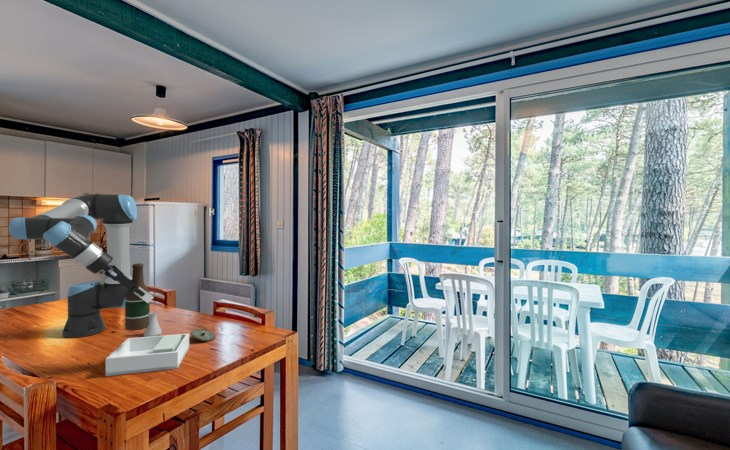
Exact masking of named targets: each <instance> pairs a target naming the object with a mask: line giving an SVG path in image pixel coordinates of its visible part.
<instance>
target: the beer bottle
mask: <svg viewBox="0 0 730 450" xmlns="http://www.w3.org/2000/svg"><path fill="white" fill-rule="evenodd" d="M144 267H145V265H144V263H139V262H138V263H133V264H132V266H131V268H132V275H131V276H132V282H133V283H134V284H136V285H138V286H139V287H141V288H142V289H143V290H145V291H146V292H147V293H150V291H149V288H148V287H147V285H146V284H145V281H144V279H145V278H144ZM133 287H134V286H133ZM133 287H132V288H133ZM132 288H131V289H132ZM150 302H151V301H150ZM150 302H149V303H147V302H145V301H144V300H143V299H141V298H140V297H138V296H137V295H136V294H134V293H132V294H131V291H130V290H128V291H127V294H126V299H125V307H124V309H125V310H124V321H125V322H124V324H125V327H124V328H125V330H126V331H131V332H133V331H134V332H135V331H141V330H144V329H146V328H147V327H148V326H149V317H150V316H149V313H150V305H151V304H150Z"/></svg>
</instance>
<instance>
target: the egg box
mask: <svg viewBox="0 0 730 450" xmlns="http://www.w3.org/2000/svg"><path fill="white" fill-rule="evenodd" d="M172 335H173V336H164V335H163V336H164V337H163V338H162V339H161V340H160V342H159V343H158V344H157V345H156V347H155V348H154V349H153V353H163V352H174V351H176V350H177V348H178V346H179V345H180V343H181V337H182V335H176V334H172Z"/></svg>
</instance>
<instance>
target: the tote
mask: <svg viewBox="0 0 730 450" xmlns="http://www.w3.org/2000/svg"><path fill="white" fill-rule="evenodd" d="M173 335H174V334H167V335H157V336H151V337H146V336H140V337H128V338H127V339H125V340H124V341H123V342H122V343H121V344H120V345H118V346H117V348H116V349H115V350H113V351H112V352H111V353H110V354H109V355H108V356H107V357H106V358H105V377H110V376H120V375H121V376H122V375H129V374H139V373H141V374H142V373H149V372H156V371H157V372H158V371H168V370H177V369H178V368H179V367H180V366H181V364H182V362H183V360H184V358H185V356H186V354H187V352H188V351H189V349H190V333H177V334H176V333H175V335H182V337H181V343H180V345H179V346H178V348H177V350H176V351H174V352H163V353H153V349H154V348H155V347H156V345H157V344H158V343H159V342H160V340H161V339H162V338H163V337H164V336H173Z"/></svg>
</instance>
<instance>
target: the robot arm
mask: <svg viewBox="0 0 730 450" xmlns="http://www.w3.org/2000/svg"><path fill="white" fill-rule="evenodd" d="M137 207H138V206H137V204H136V201H135V199H134V198H133V197H132V196H131V195H127V194H113V193H111V194H108V193H107V194H104V193H102V194H101V193H88V194H83V195H79V196H75V197H72V198H69V199H66V200H65V201H64V202H62V204H61V205H59V206H56V207H53V208H52V209H49V210H46V211H44V212H42V213H39V214H37V215H34V216H31V217H26V216H22V217H15V218H13V219H12V220H10V222H9V226H8V230H9V235H10V236H11V237H12V238H13V239H14V240H27V241H28V240H45V241H46V242H48V243H49V244H50V245H51V246H52V247H55V248H56V249H58V250H59V251H61V253H62V252H63V254H65V255H67V256H68V257H70V258H71V259H73V260H74V264H80V265H82V266H83V267H85V269H86V270H88V271H89V272H91V273H92V274H94V275H95V274H98V273H99V272H101V271H103V272H104V273H103V274H104V275H105V276H106V277H107V278H106V279H105V280H103V283H102V282H101V281H100V280H90V281H85V282H80V283H76V284H72V285H70V286H69V287H68V290H67V296H66V297H67V319H66V322H65V323H64V327H63V330H62V337H63V338H70V339H73V338H74V339H75V338H84V337H89V336H94V335H96V334H99V333H102V332H104V331H105V329H106V324H105V321H104V319H103V316H102V314H101V310H106V309H107V310H108V309H118V308H119V309H123V308H125V299H126V294H127V291H128V290H130V291H131V294H132V293H134V294H136V295H137V296H138V297H140V298H141V299H143V300H144V301H145V302H147V303H149V302H151V301H152V300H154V298H155V296H153V295H151V294H150V292H149V293H147V292H146V291H145V290H143V289H142V288H141V287H139V286H138V285H136V284H134V283H133V282H132V275H131V256H130V250H131V249H130V247H131V246H130V226H132V225H133V224H134V222H133V221H136V220H137V218H138V208H137ZM96 220H101V224H102V225H103V226H104V227H106V228H105V229H106V251H103V249H102V248H101V247H100V246H99V245H97V244H96V243H95V242H93V241H91V240H90V239H89V238H90V236H91V235H93V234H94V232H95V231H96V229H97V228H98V223H97V221H96ZM133 286H134V287H133ZM132 287H133V288H132ZM131 288H132V289H131Z"/></svg>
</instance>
